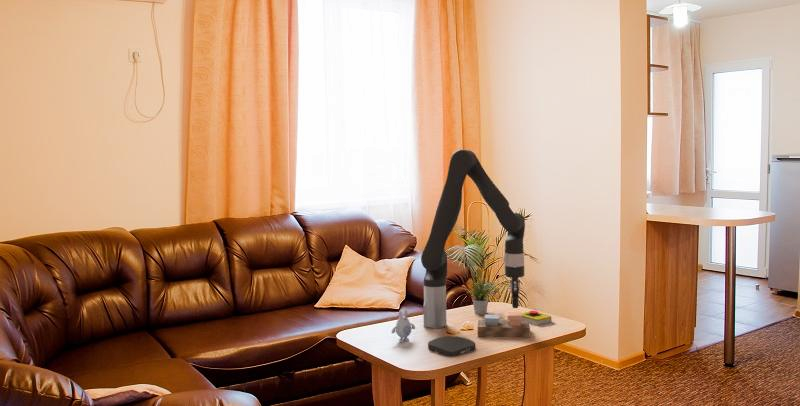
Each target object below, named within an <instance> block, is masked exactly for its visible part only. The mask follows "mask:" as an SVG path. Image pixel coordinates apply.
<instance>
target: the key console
mask: <svg viewBox="0 0 800 406" xmlns="http://www.w3.org/2000/svg"><path fill="white" fill-rule="evenodd" d="M530 327H531V326H530V324H529V321H521V326H509V320H508V319H503V320H502V319H499V323H498V325H486V322H485V319H478V321H477V338H506V339H507V338H510V339H511V338H512V339H531V328H530Z"/></svg>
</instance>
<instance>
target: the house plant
mask: <svg viewBox="0 0 800 406" xmlns="http://www.w3.org/2000/svg"><path fill="white" fill-rule="evenodd" d="M479 279H480V278H479V277H478V276H477V283H475V282H474V281H473V280H472V279H469V280H470V282H471V283H469V286H471V288H472V289H473V290H471V291H470V290H469V291H467V293H471V294H473V295H474V297H473V298H472V304H473V311H474V314H475V315H485V314H486V315H487V311H488V304H489V298H487V297H485V296H486V295H490V294H493V291H491V289H492V287H491V288H489V289H488V287H490V286H492V284H495V283H496V280H495V279H494V280H491V281H489V282H488V283H487V284H486V285H485V277H484V276H483V277H482V280H481V281H480V280H479Z"/></svg>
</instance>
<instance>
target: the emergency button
mask: <svg viewBox="0 0 800 406" xmlns="http://www.w3.org/2000/svg"><path fill="white" fill-rule="evenodd" d="M521 321H529V325H533V326H536V327H539V328H544V327H548V326H551V325H552V326H553V325H556V322H554V321H552V316H551V315H549V314H547V313H543V312H540V311H538V310H529V311H524V312H522V320H521Z"/></svg>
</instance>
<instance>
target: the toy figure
mask: <svg viewBox="0 0 800 406" xmlns="http://www.w3.org/2000/svg"><path fill="white" fill-rule="evenodd" d="M398 315H399V317H398V319H397V321H396V324H395V326H394V327H393V328H392V329H391V334H392V335H393V334H394V333H396V335H397V336H398V337H399V339H398V341H399V343H403V342H408V341H410V338H408V337H409V336H411V333H412V330H415V329H416V326H415V324H413V323H411V322H410V319H409V317H408V316H407V315H408V310H406V309H405V310H404V311H403V312H402V311H401V310H400V311H399V312H398Z"/></svg>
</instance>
